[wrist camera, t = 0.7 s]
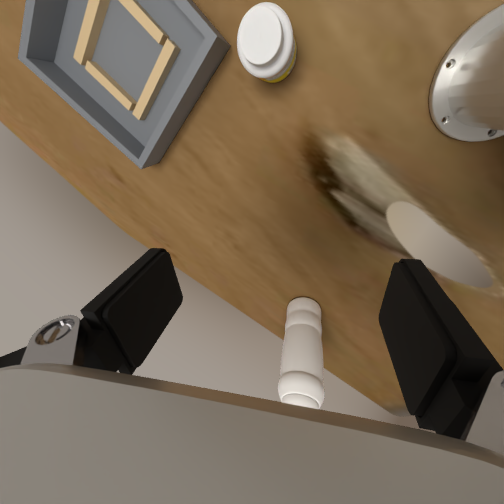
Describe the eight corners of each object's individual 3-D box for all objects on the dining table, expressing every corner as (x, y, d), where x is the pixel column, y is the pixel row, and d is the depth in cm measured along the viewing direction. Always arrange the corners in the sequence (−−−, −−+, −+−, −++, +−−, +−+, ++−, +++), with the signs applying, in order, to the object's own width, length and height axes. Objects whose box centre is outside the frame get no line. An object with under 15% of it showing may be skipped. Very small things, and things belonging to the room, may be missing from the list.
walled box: (93, -116, 25) (48, -161, 20) (230, 46, 29) (217, 36, 25) (52, 64, 35) (17, 58, 31) (158, 162, 39) (141, 169, 35)
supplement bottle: (246, 41, 29) (219, 14, 20) (289, 15, 27) (279, -27, 18) (261, 91, 31) (243, 86, 23) (302, 71, 29) (298, 57, 21)
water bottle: (325, 300, 47) (335, 449, 27) (315, 322, 51) (318, 467, 31) (291, 292, 48) (275, 430, 28) (284, 314, 52) (266, 451, 31)
